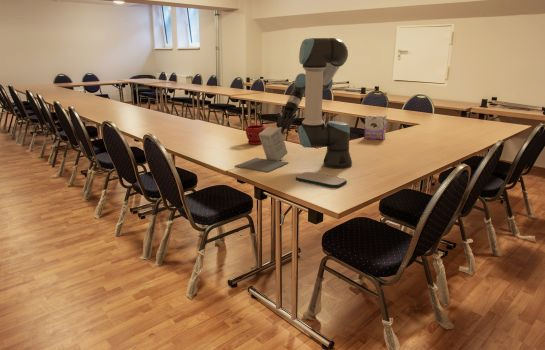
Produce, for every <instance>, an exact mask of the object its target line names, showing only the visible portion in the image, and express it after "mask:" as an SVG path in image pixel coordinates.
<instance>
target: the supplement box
mask: <svg viewBox="0 0 545 350" xmlns="http://www.w3.org/2000/svg"><path fill="white" fill-rule="evenodd" d="M259 137H260V140H261V143H262V144H261V146H262V149H263V152H264V155H265V159H268V160H275V161H280V160H281V159H282V158H284V157H285V156H286V155H287V154H288V150H287V147H286V143H285V140H284V136H283V134H282V133H281V129H280V128H278V127H277V126H275V127H274V126H267V127H266V128H265V130H263V131H262V132H260V134H259Z"/></svg>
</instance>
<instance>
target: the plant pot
mask: <svg viewBox="0 0 545 350" xmlns="http://www.w3.org/2000/svg"><path fill="white" fill-rule="evenodd" d="M265 129H266V128H265V125H261V124H252V125H248V126H246V127H245V135H246V138H247V143H248V144H249V145H253V146H254V145H255V146H259V145H262V143H261V140H260V137H259V134H260V133H261V132H262V131H263V130H265Z"/></svg>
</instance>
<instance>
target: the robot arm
mask: <svg viewBox="0 0 545 350" xmlns="http://www.w3.org/2000/svg"><path fill="white" fill-rule="evenodd" d="M298 53H299V54H298V58H299V59H298V62H299V64H301V65H302V68H303V70H304V71H305V73H304V72H302V73H299V74H297V75H296V76H295V79H294V83H293V87H292V91H291V93H290V95H289V96H288V99H287V101H286V103H285V105H284V108H283V110H282V112H278V113H277V118H276V119H277V120H276V124H275V125H276V126H275V127H276V128H280V129H281V133H282V135H283V134H284V132H285V130H289V128H290V127H291V126H292V124H293V123H294V122H295V121H296V119H298V115H297V114H296V113H297V111H298V109H299V106H300V104H301V102H302V100H303V97H304V98H305V99H304V100H305V101H304V119H303V120H302V121H301V125H299V126H298V130H297V131H298V137H299V141H300V145H301V146H302V147H303V148H304V149H305V148H308V149H309V148H310V149H311V148H312V149H313V148H326V152H325V156H324V159H323V161H322V162H323V166H325V167H326V168H330V169H347V168H350V167H351V166H352V165H353V161H352V157H351V153H350V135H351V129H350V125H349V123H347V122H342V121H336V120H329V121H327V123H325V120H323V118H322V116H323V115H322V114H323V113H322V112H323V90H331V89H332V88H333V84H334V81H333V78H334V76H335V75H336V74H337V72H338V70H339V69H340V68H341V67H342V66H343V65H345V63H346V62H347V59H348V56H349V50H348V47H347V45H346V44H345V43H344V42H343V41H342V40H341V39H339V38H336V37H315V38H314V37H310V38H305V39H303V40H302V42H301V45H300V47H299V52H298ZM304 95H305V96H304ZM352 167H353V166H352Z"/></svg>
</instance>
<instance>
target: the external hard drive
mask: <svg viewBox="0 0 545 350" xmlns="http://www.w3.org/2000/svg"><path fill="white" fill-rule="evenodd" d="M295 180H296V181H298V182H301V183H305V184H310V185H315V186H321V187H324V188H330V189H340V188H341V187H344V186H345V185H347V182H348V181H347V179H346V178H342V177H339V176H333V175H328V174H321V173H316V172H311V171H310V172H308V171H306V172H305V171H304V172H302V173H299V174H297V175H296V176H295Z"/></svg>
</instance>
